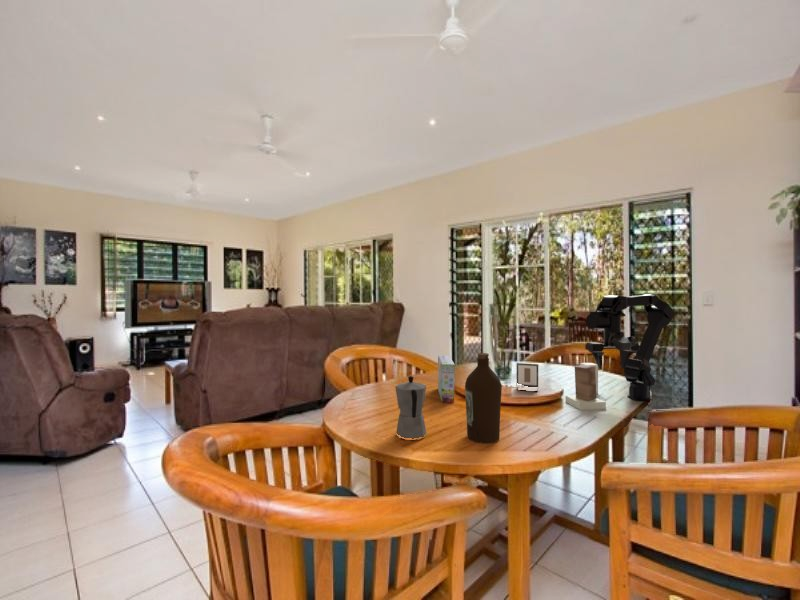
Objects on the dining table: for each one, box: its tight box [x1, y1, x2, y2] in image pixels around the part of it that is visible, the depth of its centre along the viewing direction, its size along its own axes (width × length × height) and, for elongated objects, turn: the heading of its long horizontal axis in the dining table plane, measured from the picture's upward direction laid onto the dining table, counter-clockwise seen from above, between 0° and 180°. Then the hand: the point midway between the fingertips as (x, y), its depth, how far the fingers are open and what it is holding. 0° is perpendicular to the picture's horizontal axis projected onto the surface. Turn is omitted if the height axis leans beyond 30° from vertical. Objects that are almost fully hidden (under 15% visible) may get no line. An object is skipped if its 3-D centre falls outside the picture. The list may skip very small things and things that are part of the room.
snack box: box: [437, 355, 456, 403], centre depth 161 cm, size 21×6×15 cm, turn 179°
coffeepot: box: [394, 375, 427, 439], centre depth 116 cm, size 15×9×18 cm, turn 6°
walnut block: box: [574, 364, 597, 401], centre depth 146 cm, size 5×5×12 cm
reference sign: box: [516, 362, 539, 388], centre depth 169 cm, size 6×9×11 cm, turn 71°
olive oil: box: [464, 352, 503, 444], centre depth 115 cm, size 11×11×25 cm
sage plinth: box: [564, 394, 607, 411], centre depth 146 cm, size 10×10×3 cm
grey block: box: [579, 362, 599, 395], centre depth 164 cm, size 5×5×12 cm
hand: (611, 368), depth 149 cm, fingers open, 9 cm apart
